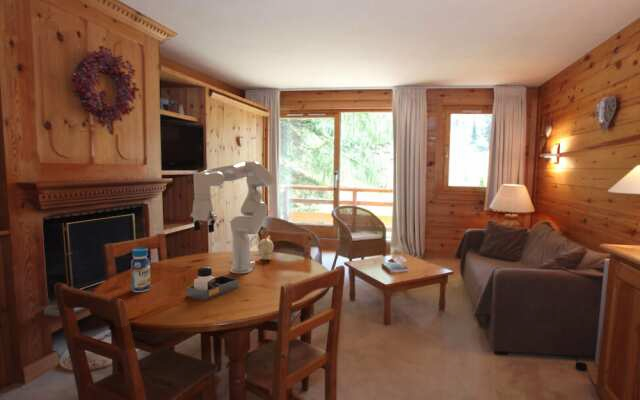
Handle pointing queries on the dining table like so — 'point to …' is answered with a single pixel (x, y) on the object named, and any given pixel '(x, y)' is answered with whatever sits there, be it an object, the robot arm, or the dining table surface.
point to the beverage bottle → (140, 270)
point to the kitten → (265, 248)
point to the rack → (221, 287)
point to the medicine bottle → (204, 279)
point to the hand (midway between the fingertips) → (204, 231)
